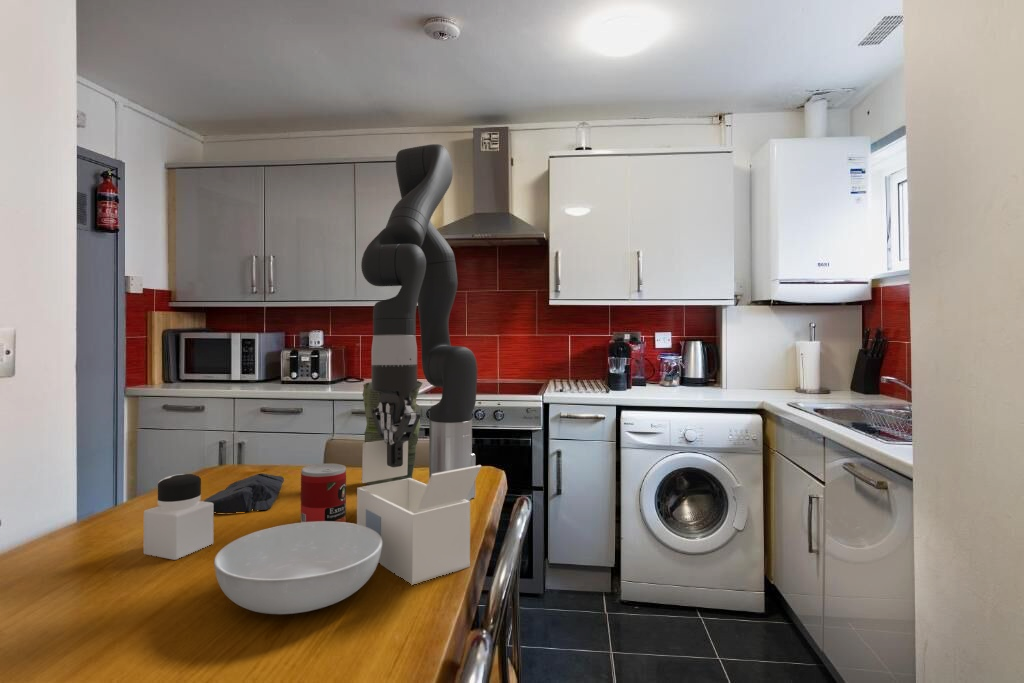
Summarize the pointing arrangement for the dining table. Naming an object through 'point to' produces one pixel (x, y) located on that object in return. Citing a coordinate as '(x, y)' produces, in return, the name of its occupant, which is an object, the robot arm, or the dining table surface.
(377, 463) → the far flap
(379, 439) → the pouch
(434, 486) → the near flap
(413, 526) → the carton
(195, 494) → the medicine bottle
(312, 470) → the canned food
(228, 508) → the dark slate chunk
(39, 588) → the dining table surface
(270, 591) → the serving bowl
